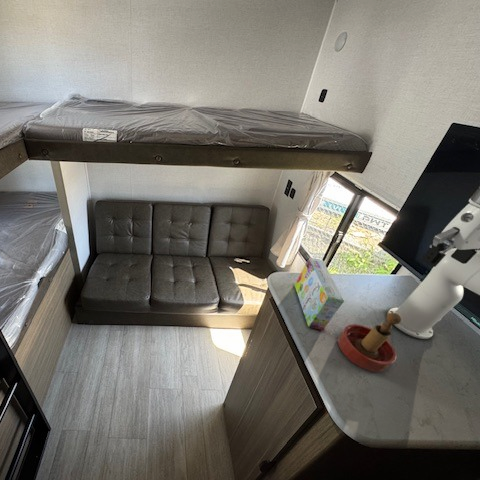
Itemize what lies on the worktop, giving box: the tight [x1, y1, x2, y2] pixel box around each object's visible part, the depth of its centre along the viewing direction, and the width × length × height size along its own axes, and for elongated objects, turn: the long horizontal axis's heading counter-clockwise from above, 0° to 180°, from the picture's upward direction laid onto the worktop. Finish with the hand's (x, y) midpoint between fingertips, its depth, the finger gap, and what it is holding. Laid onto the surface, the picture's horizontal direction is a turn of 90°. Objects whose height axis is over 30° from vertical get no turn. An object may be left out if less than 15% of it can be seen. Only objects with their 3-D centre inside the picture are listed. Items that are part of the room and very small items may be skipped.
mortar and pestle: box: [352, 313, 401, 360], centre depth 74 cm, size 7×6×18 cm
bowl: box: [337, 323, 397, 373], centre depth 79 cm, size 13×13×5 cm
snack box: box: [294, 257, 345, 331], centre depth 91 cm, size 21×6×15 cm, turn 168°
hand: (442, 261), depth 64 cm, fingers open, 9 cm apart
